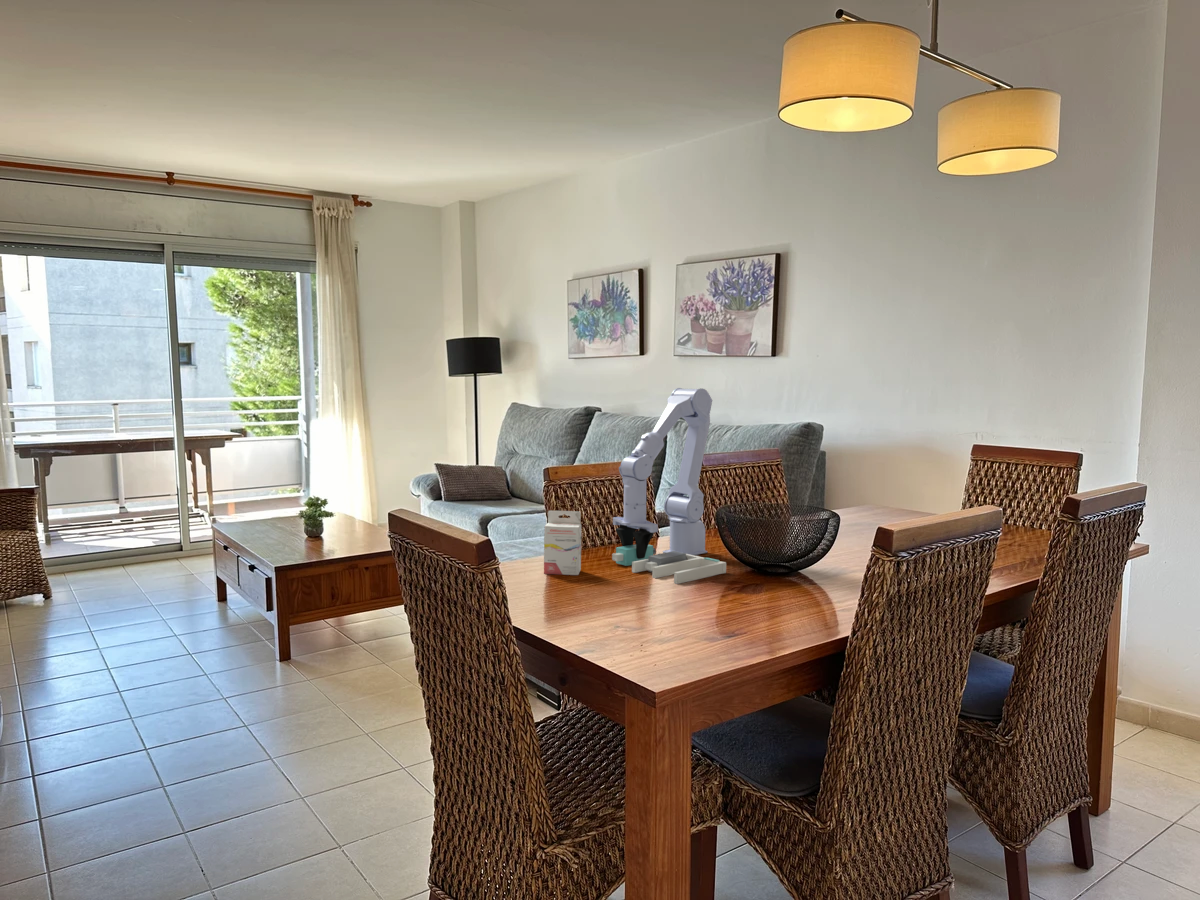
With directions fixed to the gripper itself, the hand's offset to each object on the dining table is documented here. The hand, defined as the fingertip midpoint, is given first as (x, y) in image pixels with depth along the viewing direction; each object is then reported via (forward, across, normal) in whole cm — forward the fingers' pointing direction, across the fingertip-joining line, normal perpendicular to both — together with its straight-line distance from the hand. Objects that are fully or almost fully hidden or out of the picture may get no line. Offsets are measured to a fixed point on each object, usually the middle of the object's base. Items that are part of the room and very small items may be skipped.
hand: (634, 556), depth 210 cm
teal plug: (+1, 0, 0) cm, 1 cm away
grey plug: (+2, +12, 0) cm, 12 cm away
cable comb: (+1, +15, +1) cm, 15 cm away
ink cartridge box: (+2, -3, -21) cm, 21 cm away
